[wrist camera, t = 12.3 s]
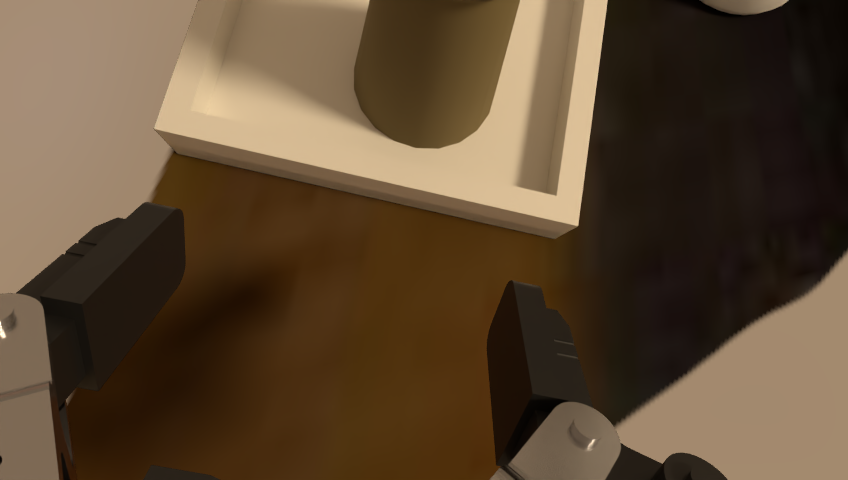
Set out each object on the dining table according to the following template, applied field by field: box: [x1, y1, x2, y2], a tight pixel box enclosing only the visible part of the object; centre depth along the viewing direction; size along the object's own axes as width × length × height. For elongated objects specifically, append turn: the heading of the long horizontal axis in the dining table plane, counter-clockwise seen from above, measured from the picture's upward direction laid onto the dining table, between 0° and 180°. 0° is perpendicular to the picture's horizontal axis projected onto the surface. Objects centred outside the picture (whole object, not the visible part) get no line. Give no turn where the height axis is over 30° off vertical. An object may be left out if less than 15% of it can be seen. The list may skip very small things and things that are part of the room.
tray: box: [154, 0, 607, 239], centre depth 21 cm, size 16×14×2 cm
